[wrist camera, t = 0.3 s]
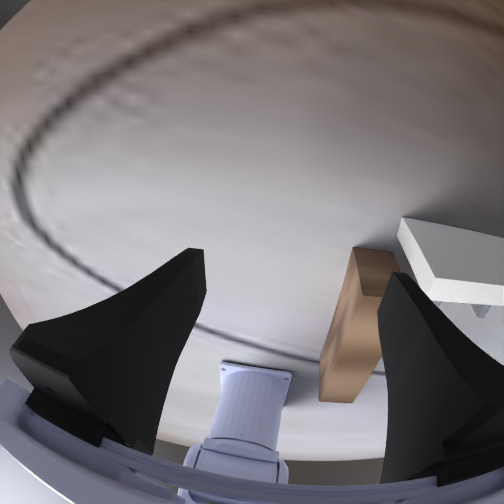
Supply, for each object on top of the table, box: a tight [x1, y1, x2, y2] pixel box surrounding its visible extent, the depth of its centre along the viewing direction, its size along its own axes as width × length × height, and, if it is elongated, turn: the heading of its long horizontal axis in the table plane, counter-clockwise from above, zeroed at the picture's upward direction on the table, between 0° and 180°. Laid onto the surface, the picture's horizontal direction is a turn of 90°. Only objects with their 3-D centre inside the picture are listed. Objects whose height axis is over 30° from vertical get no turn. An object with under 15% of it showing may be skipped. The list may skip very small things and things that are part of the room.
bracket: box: [397, 217, 504, 318], centre depth 16 cm, size 6×13×7 cm, turn 88°
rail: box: [319, 247, 400, 403], centre depth 22 cm, size 13×3×6 cm, turn 178°
